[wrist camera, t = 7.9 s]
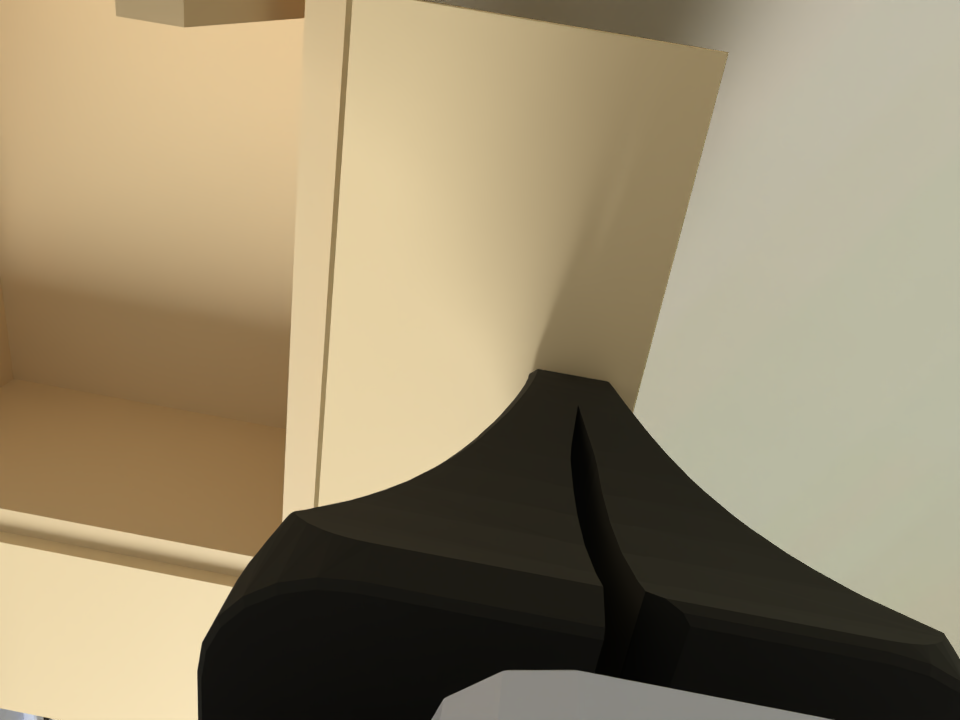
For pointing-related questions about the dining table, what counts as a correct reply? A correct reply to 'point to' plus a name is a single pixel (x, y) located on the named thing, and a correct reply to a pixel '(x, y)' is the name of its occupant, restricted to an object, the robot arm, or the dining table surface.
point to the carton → (156, 327)
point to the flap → (496, 222)
